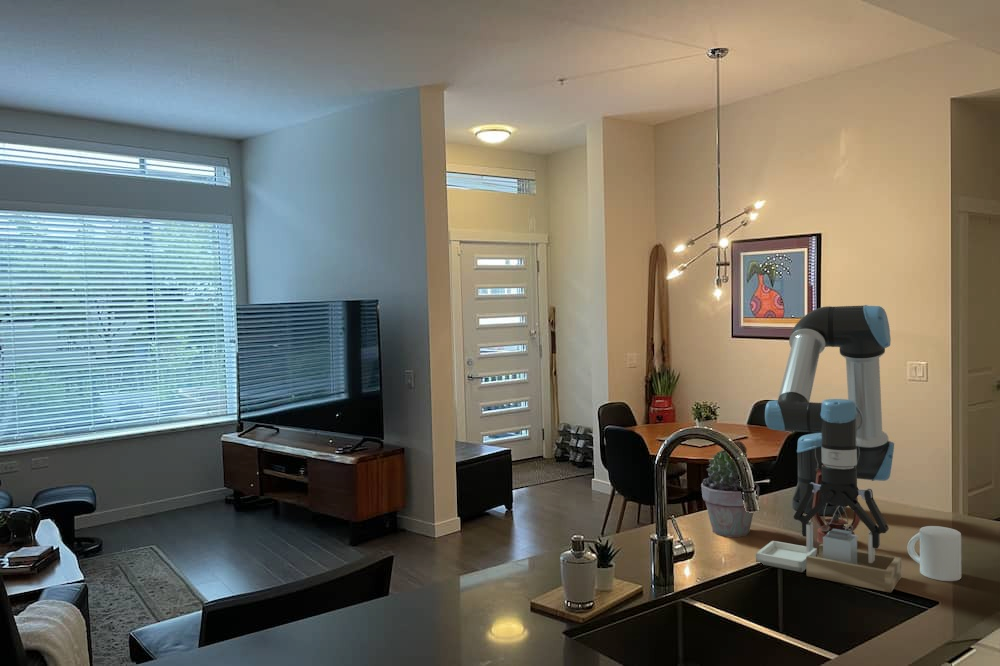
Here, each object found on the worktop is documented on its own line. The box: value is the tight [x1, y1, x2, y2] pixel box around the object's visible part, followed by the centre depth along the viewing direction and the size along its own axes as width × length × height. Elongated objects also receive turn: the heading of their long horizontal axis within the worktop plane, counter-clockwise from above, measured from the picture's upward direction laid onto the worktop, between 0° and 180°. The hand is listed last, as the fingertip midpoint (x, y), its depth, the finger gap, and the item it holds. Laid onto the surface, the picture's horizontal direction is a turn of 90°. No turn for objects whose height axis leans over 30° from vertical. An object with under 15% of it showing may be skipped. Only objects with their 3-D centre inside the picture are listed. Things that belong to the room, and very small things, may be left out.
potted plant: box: [697, 440, 760, 538], centre depth 206 cm, size 18×20×25 cm
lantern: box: [812, 435, 861, 544], centre depth 196 cm, size 10×10×30 cm
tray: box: [755, 540, 818, 573], centre depth 183 cm, size 12×11×2 cm
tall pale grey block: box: [823, 529, 858, 564], centre depth 173 cm, size 6×6×10 cm
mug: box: [906, 525, 962, 582], centre depth 172 cm, size 8×10×12 cm
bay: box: [805, 543, 902, 593], centre depth 171 cm, size 11×18×4 cm, turn 51°
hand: (840, 555), depth 173 cm, fingers open, 13 cm apart
